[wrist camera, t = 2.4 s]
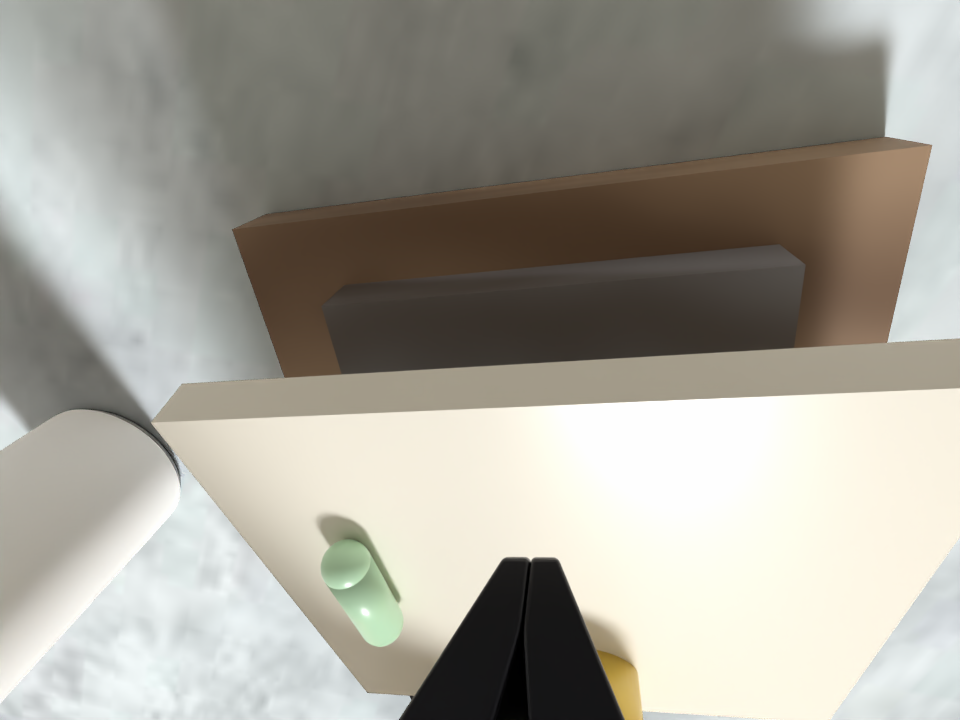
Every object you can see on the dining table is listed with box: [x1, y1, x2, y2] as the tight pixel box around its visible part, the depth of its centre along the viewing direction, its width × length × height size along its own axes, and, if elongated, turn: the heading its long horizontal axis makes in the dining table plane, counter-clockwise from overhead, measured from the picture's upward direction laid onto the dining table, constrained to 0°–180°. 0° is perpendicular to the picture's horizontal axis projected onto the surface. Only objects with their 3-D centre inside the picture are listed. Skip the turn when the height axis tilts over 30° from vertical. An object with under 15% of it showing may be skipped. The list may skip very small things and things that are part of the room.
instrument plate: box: [151, 339, 960, 720], centre depth 13 cm, size 15×16×4 cm
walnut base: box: [232, 137, 932, 378], centre depth 18 cm, size 18×18×4 cm
